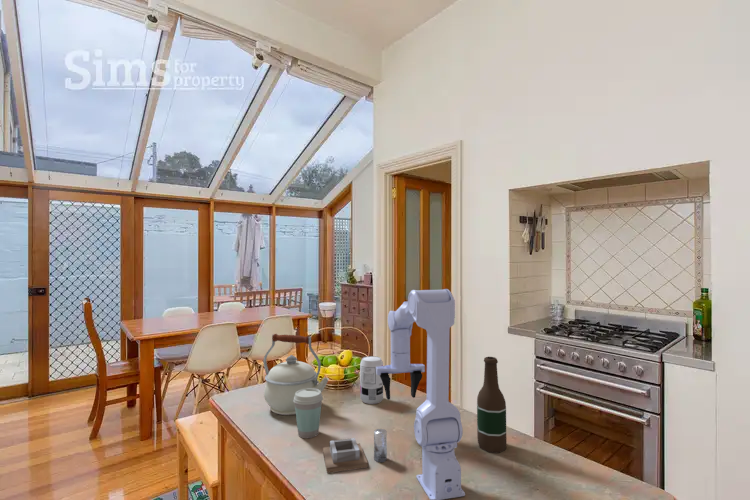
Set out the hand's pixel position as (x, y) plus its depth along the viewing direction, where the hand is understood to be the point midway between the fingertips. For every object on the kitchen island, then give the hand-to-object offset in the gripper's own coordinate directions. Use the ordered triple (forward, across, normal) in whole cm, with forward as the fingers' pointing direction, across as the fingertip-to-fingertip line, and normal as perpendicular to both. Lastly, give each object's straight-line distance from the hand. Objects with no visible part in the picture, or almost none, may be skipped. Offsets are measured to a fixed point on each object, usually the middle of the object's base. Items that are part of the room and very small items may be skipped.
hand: (400, 397), depth 114 cm
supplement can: (+10, +4, -26) cm, 28 cm away
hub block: (+10, +18, +12) cm, 24 cm away
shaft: (+10, +9, +14) cm, 19 cm away
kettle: (+10, +31, -25) cm, 41 cm away
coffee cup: (+10, +27, -4) cm, 29 cm away
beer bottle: (+10, -22, +14) cm, 28 cm away
